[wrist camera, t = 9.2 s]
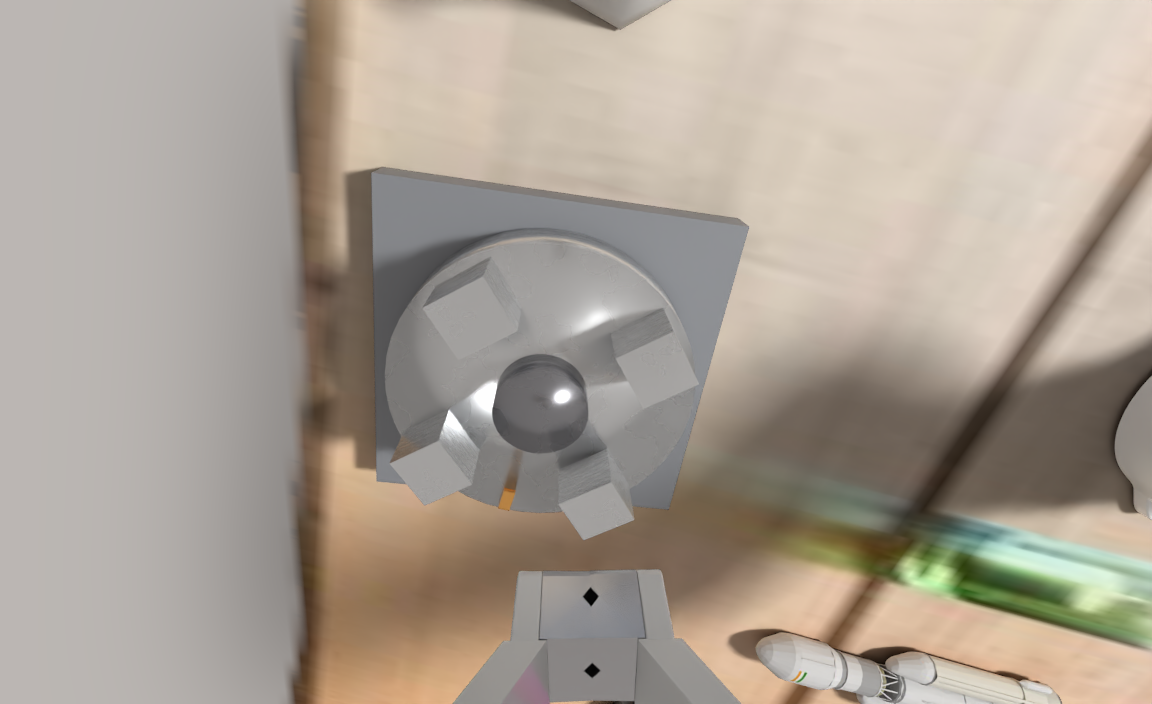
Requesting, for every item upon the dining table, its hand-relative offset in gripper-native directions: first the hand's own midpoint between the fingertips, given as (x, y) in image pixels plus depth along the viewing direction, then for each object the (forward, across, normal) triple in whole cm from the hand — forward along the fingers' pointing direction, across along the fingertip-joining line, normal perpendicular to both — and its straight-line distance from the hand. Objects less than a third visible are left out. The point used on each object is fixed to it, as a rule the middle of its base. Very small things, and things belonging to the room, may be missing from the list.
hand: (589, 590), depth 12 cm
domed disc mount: (+21, +2, +6) cm, 22 cm away
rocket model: (+25, -28, +39) cm, 54 cm away
